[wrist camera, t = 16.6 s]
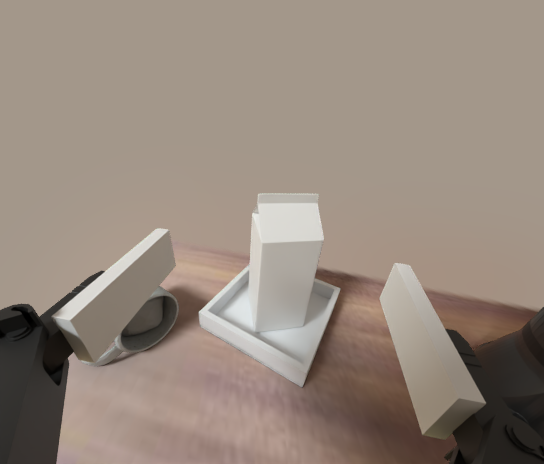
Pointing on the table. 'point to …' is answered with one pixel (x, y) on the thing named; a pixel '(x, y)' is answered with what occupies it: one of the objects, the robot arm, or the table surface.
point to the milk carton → (283, 259)
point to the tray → (271, 344)
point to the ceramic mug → (144, 326)
